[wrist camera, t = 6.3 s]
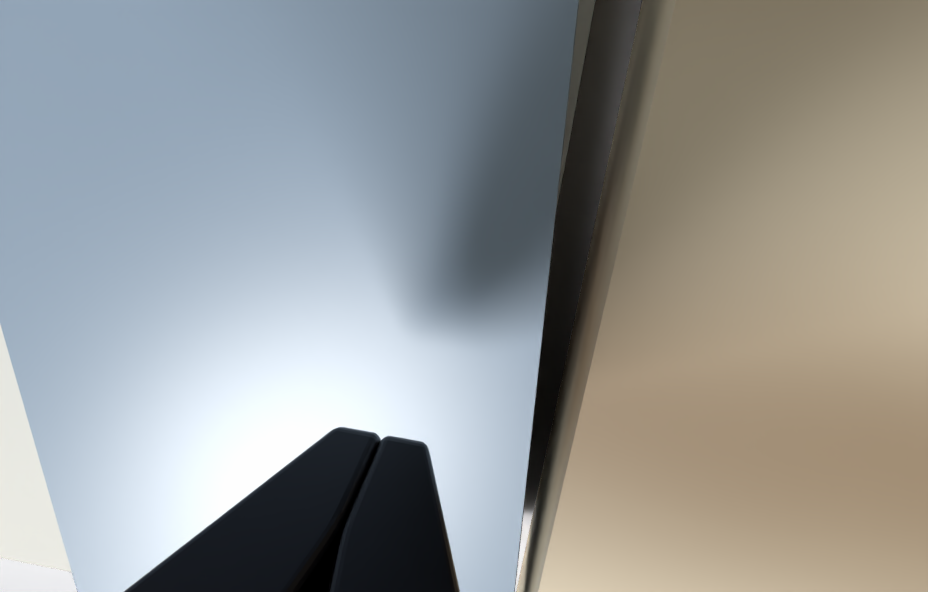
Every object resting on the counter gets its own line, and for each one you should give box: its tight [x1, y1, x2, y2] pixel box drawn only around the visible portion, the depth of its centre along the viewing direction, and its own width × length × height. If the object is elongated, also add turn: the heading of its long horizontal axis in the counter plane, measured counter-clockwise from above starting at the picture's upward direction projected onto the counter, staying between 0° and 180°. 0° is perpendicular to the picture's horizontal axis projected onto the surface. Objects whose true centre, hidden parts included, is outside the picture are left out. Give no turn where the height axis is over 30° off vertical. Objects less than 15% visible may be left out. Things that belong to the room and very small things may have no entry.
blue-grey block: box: [0, 0, 579, 592], centre depth 10 cm, size 9×6×2 cm, turn 178°
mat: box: [0, 0, 595, 572], centre depth 11 cm, size 14×14×1 cm
